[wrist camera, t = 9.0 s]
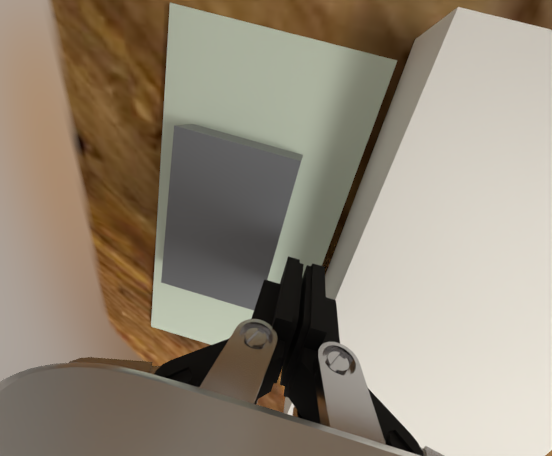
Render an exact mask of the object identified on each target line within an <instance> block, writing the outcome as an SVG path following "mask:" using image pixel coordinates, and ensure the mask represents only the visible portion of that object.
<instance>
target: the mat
mask: <svg viewBox="0 0 552 456" xmlns="http://www.w3.org/2000/svg"><path fill="white" fill-rule="evenodd" d="M396 63H397V60H393V59H389V58H386V57H382V56H378V55H374V54H370V53H366V52H362V51H358V50H354V49H350V48H346V47H342V46H338V45H335V44H331V43H327V42H323V41H319V40H315V39H311V38H307V37H303V36H299V35H295V34H291V33H287V32H284V31H280V30H276V29H272V28H268V27H264V26H260V25H256V24H252V23H248V22H244V21H240V20H236V19H233V18H229V17H225V16H221V15H217V14H213V13H209V12H205V11H201V10H197V9H193V8H189V7H185V6H182V5H178V4H174V3H170V9H169V26H168V43H167V60H166V77H165V94H164V112H163V129H162V146H161V163H160V180H159V197H158V214H157V232H156V249H155V266H154V283H153V300H152V317H151V327H154V328H158V329H161V330H164V331H168V332H171V333H174V334H178V335H181V336H184V337H188V338H191V339H194V340H198V341H201V342H204V343H208V344H211V345H213V344H216V343H218V342H221V341H224V340H226V339H229V338H230V337H231V335H232V334H233V332H234V330H235V329H236V327H237V326H238V325H239V324H240V323H241V322H243V321H244V320H248V319H251V318H252V315H253V312H254V310H250V309H247V308H244V307H241V306H237V305H234V304H231V303H227V302H224V301H221V300H217V299H214V298H211V297H207V296H204V295H201V294H198V293H194V292H191V291H188V290H184V289H181V288H178V287H174V286H171V285H168V284H164V283H161V277H162V265H163V253H164V241H165V229H166V217H167V205H168V194H169V182H170V170H171V158H172V146H173V134H174V125H185V124H195V125H199V126H202V127H206V128H209V129H213V130H217V131H220V132H224V133H227V134H231V135H234V136H238V137H241V138H245V139H249V140H252V141H256V142H259V143H263V144H266V145H270V146H273V147H277V148H281V149H284V150H288V151H291V152H295V153H298V154H302V155H303V158H302V161H301V164H300V168H299V171H298V175H297V178H296V182H295V185H294V189H293V192H292V196H291V199H290V203H289V206H288V210H287V213H286V217H285V220H284V224H283V227H282V231H281V234H280V238H279V241H278V245H277V248H276V252H275V255H274V259H273V262H272V266H271V269H270V273H269V276H268V281H272V282H275V283H279V284H280V282H281V278H282V275H283V272H284V268H285V265H286V262H287V258H288V256H289V257H292V258H296V259H299V260H300V263H302V264H304V266H303V275H304V272H305V269H306V266H307V265H309V266H311V265H312V263H313V264H317V265H320V266H322V264H323V261H324V259H325V256H326V253H327V250H328V248H329V245H330V242H331V240H332V237H333V234H334V231H335V229H336V226H337V223H338V221H339V218H340V215H341V212H342V210H343V207H344V204H345V202H346V199H347V196H348V193H349V191H350V188H351V185H352V183H353V180H354V177H355V174H356V172H357V169H358V166H359V164H360V161H361V158H362V155H363V153H364V150H365V147H366V145H367V142H368V139H369V136H370V134H371V131H372V128H373V126H374V123H375V120H376V117H377V115H378V112H379V109H380V107H381V104H382V101H383V98H384V96H385V93H386V90H387V88H388V85H389V82H390V79H391V77H392V74H393V71H394V69H395V66H396ZM302 278H303V276H302Z"/></svg>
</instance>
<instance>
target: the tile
mask: <svg viewBox="0 0 552 456" xmlns="http://www.w3.org/2000/svg"><path fill="white" fill-rule="evenodd" d="M302 158H303V155H302V154H298V153H295V152H291V151H288V150H284V149H281V148H277V147H273V146H270V145H266V144H263V143H259V142H256V141H252V140H249V139H245V138H241V137H238V136H234V135H231V134H227V133H224V132H220V131H217V130H213V129H209V128H206V127H202V126H199V125H195V124H185V125H174V134H173V146H172V158H171V170H170V182H169V194H168V205H167V217H166V229H165V241H164V253H163V265H162V277H161V283H164V284H168V285H171V286H174V287H178V288H181V289H184V290H188V291H191V292H194V293H198V294H201V295H204V296H207V297H211V298H214V299H217V300H221V301H224V302H227V303H231V304H234V305H237V306H241V307H244V308H247V309H250V310H254V309H255V306H256V303H257V300H258V297H259V294H260V291H261V288H262V285H263V281H264V279H265V280H268V276H269V273H270V269H271V266H272V262H273V259H274V255H275V252H276V248H277V245H278V241H279V238H280V234H281V231H282V227H283V224H284V220H285V217H286V213H287V210H288V206H289V203H290V199H291V196H292V192H293V189H294V185H295V182H296V178H297V175H298V171H299V168H300V164H301V161H302Z"/></svg>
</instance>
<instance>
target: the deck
mask: <svg viewBox="0 0 552 456" xmlns="http://www.w3.org/2000/svg"><path fill="white" fill-rule="evenodd" d="M325 290H326V297H327V298H330V299H334V300H335V301H336V306H337V317H338V328H339V338H340V344H342V345H344V346H346V347H348V348H349V349H350V350H351V351H352V352H353V353H354V354H355V355H356V357H357V358H358V360H359V363H360V365H361V369H362V372H363V375H364V378H365V381H366V384H367V387H368V389H369V390H370V391H371V392H372V393H373V394H374V395H375V396H376V397H377V398H378V399H379V400H380V401H381V402H382V403H383V405H384V406H385V407H386V408H387V409H388V410H389V411H390V412H391V413H392V414H393V415H394V416H395V417H396V418H397V420H398V421H399V422H400V423H401V424H402V425H403V426H404V427H405V428H406V429H407V430H408V431H409V432H410V433H411V435H412V436H413V437H414V438H415V440H416V441H417V442H418V444H419V446H420V447H421V448H424V447H425V446H427V447H429V448H431V449H433V450H435V451H437V452H439V453H440V454H442V455H444V456H545V455H546V454H547V453H549V452H550V451H551V450H552V30H550V29H546V28H542V27H538V26H534V25H530V24H526V23H522V22H518V21H514V20H510V19H506V18H501V17H497V16H493V15H489V14H485V13H481V12H477V11H473V10H469V9H465V8H461V7H457V8H456V9H455V10H453V11H452V12H451V13H449V14H448V15H447V16H445V17H444V18H443V19H441V20H440V21H439V22H437V23H436V24H435V25H433V26H432V27H431V28H430V29H428V30H427V31H426V32H424V33H423V34H422V35H420V36H419V37H418V38H416V39H415V41H414V44H413V46H412V49H411V52H410V54H409V57H408V59H407V62H406V65H405V67H404V70H403V73H402V75H401V78H400V80H399V83H398V86H397V88H396V91H395V94H394V96H393V99H392V101H391V104H390V107H389V109H388V112H387V115H386V117H385V120H384V122H383V125H382V128H381V130H380V133H379V136H378V138H377V141H376V143H375V146H374V149H373V151H372V154H371V156H370V159H369V162H368V164H367V167H366V170H365V172H364V175H363V177H362V180H361V183H360V185H359V188H358V191H357V193H356V196H355V198H354V201H353V204H352V206H351V209H350V212H349V214H348V217H347V219H346V222H345V225H344V227H343V230H342V233H341V235H340V238H339V240H338V243H337V246H336V248H335V251H334V254H333V256H332V259H331V261H330V264H329V267H328V269H327V272H326V275H325ZM293 408H294V405H293V403H292V402H291V401H290V399H289V398H288V397H285V406H284V413H285V414H288V415H292V416H293Z"/></svg>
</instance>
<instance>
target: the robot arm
mask: <svg viewBox="0 0 552 456" xmlns="http://www.w3.org/2000/svg"><path fill="white" fill-rule="evenodd" d="M303 266H304V264H302V263H300V260H299V259H296V258H292V257H289V256H288V258H287V262H286V265H285V268H284V272H283V275H282V278H281V282H280V284H279V283H275V282H272V281H268V280H265V279H264V281H263V285H262V288H261V291H260V294H259V297H258V300H257V303H256V306H255V309H254V312H253V315H252V318H251V319H248V320H244V321H243V322H241V323H240V324H239V325H238V326H237V327H236V329H235V330H234V332H233V334H232V335H231V337H230V338H229V339H226V340H224V341H221V342H218V343H216V344H213V345H210V346H208V347H205V348H202V349H200V350H197V351H194V352H192V353H189V354H186V355H184V356H181V357H179V358H176V359H173V360H171V361H169V362H167V363H165V364H163V365H162V366H152V362H146V361H131V360H119V359H118V360H117V359H105V358H92V357H91V358H90V357H88V358H79V359H76V360H73V361H70V362H69V363H60V364H52V365H45V366H40V367H36V368H31V369H28V370H25V371H22V372H19V373H17V374H14V375H12V376H10V377H8V378H6V379H4V380H2V381H1V382H0V456H444V455H442V454H440V453H439V452H437V451H435V450H433V449H431V448H429V447H427V446H425V447H424V448H421V447H420V446H419V444H418V442H417V441H416V440H415V438H414V437H413V436H412V435H411V433H410V432H409V431H408V430H407V429H406V428H405V427H404V426H403V425H402V424H401V423H400V422H399V421H398V420H397V418H396V417H395V416H394V415H393V414H392V413H391V412H390V411H389V410H388V409H387V408H386V407H385V406H384V405H383V403H382V402H381V401H380V400H379V399H378V398H377V397H376V396H375V395H374V394H373V393H372V392H371V391H370V390H369V389H368V387H367V384H366V381H365V378H364V375H363V372H362V369H361V365H360V363H359V360H358V358H357V357H356V355H355V354H354V353H353V352H352V351H351V350H350V349H349V348H348V347H346V346H344V345H342V344H340V338H339V328H338V317H337V306H336V301H335V300H334V299H330V298H327V297H326V290H325V267H324V266H320V265H317V264H313V263H312V265H311V266H309V265H307V266H306V269H305V272H304V275H303ZM302 276H303V278H302ZM282 366H283V367H282ZM281 369H282V374H281V382H280V385H283V386H285V390H284V396H285V397H288V398H289V399H290V401H291V402H292V403H293V405H294V408H293V416H292V415H288V414H285V413H282V412H279V411H275V410H272V409H269V408H266V407H262V406H259V405H256V404H257V401H258V399H259V398H260V397H262V396H264V395H265V394H267V393H269V392H271V389H272V386H273V383H277V380H278V377H279V375H280V372H281Z"/></svg>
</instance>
